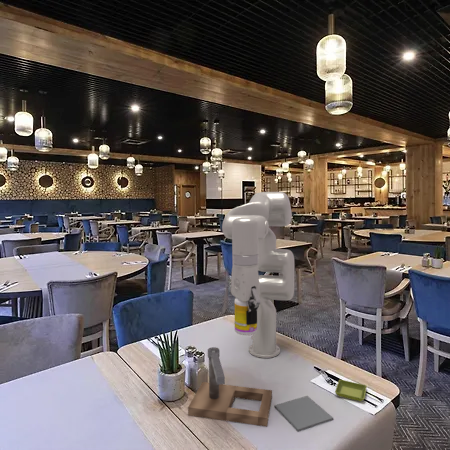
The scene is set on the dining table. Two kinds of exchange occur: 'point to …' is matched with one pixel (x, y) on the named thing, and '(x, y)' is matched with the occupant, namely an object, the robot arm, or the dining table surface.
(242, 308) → the supplement bottle
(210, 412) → the collar stand
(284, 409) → the coaster pad
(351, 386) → the olive square tray
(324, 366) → the dining table surface
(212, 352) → the retention bar
